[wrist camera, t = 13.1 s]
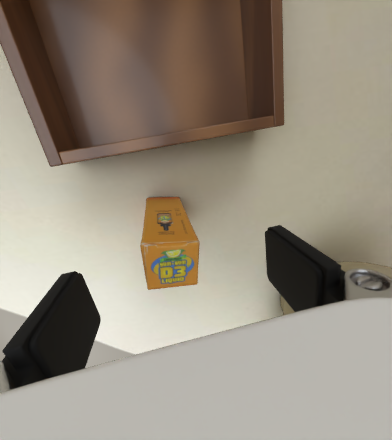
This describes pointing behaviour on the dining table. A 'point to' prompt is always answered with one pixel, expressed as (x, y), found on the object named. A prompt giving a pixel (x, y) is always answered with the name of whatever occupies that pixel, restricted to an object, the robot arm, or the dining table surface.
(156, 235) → the supplement box
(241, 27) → the wooden tray
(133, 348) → the dining table surface
